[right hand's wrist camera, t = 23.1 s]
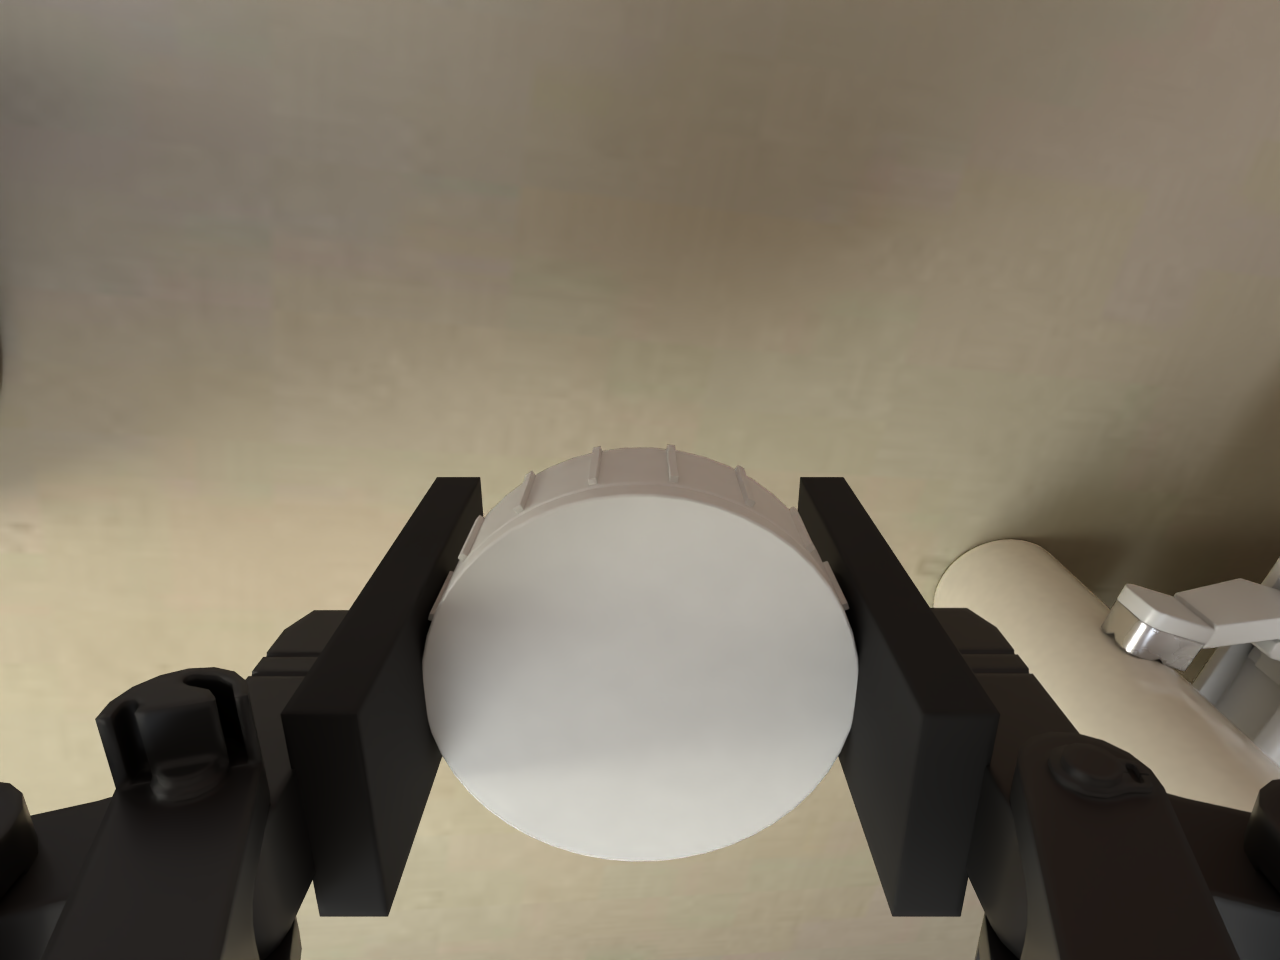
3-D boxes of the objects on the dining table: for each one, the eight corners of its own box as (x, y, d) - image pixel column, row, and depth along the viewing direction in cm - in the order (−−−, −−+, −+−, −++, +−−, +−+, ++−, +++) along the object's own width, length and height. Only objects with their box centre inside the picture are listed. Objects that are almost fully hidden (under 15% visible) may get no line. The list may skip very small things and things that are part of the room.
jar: (926, 555, 29) (1331, 1092, 12) (1060, 525, 29) (1673, 1039, 12) (940, 664, 31) (1312, 1267, 14) (1067, 637, 31) (1610, 1225, 14)
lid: (911, 637, 12) (954, 710, 10) (624, 835, 13) (622, 927, 12) (659, 355, 10) (663, 388, 9) (365, 613, 12) (322, 682, 10)
